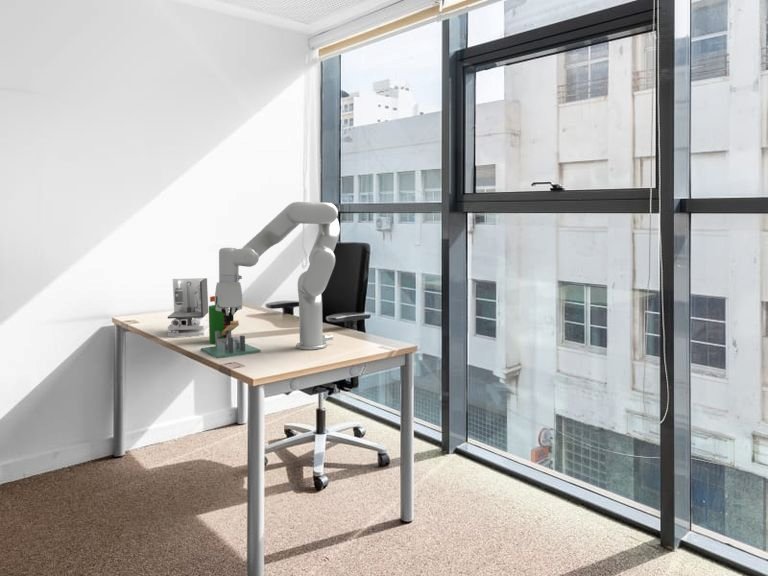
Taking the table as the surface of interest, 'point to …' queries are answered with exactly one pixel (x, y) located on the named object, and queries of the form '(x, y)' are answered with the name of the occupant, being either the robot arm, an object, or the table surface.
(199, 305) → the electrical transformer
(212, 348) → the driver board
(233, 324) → the strap
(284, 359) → the table surface
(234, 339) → the heat sink
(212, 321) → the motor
